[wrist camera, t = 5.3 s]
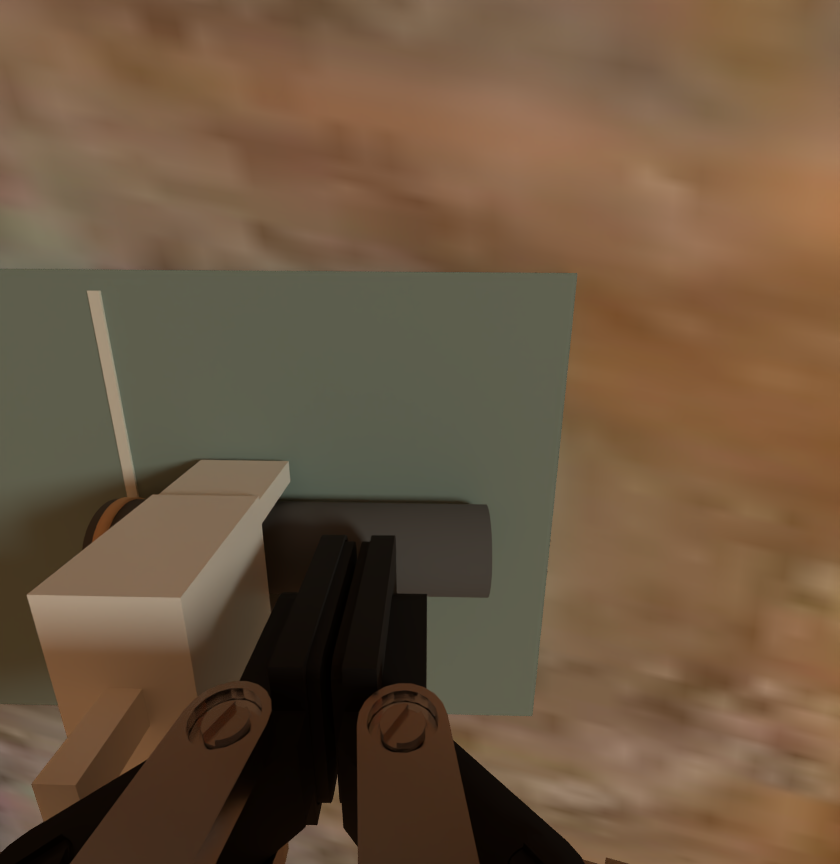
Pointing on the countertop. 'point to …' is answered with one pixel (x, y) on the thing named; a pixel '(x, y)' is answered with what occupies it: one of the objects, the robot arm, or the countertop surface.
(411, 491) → the cutting mat
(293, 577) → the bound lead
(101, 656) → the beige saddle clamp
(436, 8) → the countertop surface
